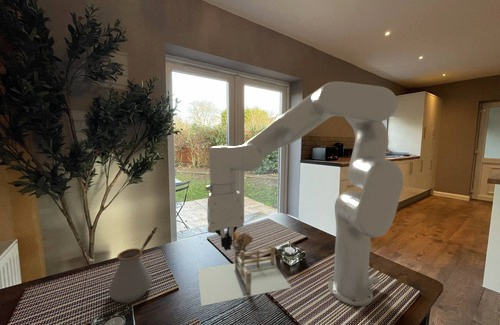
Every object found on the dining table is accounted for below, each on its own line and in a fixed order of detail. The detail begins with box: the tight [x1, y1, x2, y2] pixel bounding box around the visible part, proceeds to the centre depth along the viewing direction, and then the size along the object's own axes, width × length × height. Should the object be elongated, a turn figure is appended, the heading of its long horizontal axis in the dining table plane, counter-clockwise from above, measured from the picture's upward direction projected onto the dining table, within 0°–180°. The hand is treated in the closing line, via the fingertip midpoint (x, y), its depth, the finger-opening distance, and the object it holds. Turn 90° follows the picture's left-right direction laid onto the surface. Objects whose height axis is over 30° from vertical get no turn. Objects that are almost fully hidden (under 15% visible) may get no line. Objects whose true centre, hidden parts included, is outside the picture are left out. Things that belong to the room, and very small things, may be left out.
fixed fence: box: [239, 245, 276, 267], centre depth 79 cm, size 13×1×7 cm, turn 107°
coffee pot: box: [108, 226, 161, 304], centre depth 70 cm, size 21×12×15 cm, turn 174°
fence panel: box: [234, 249, 251, 294], centre depth 71 cm, size 14×1×6 cm, turn 19°
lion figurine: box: [232, 230, 254, 254], centre depth 93 cm, size 15×5×9 cm, turn 37°
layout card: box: [197, 260, 292, 307], centre depth 73 cm, size 28×18×1 cm, turn 107°
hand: (226, 247), depth 65 cm, fingers closed
